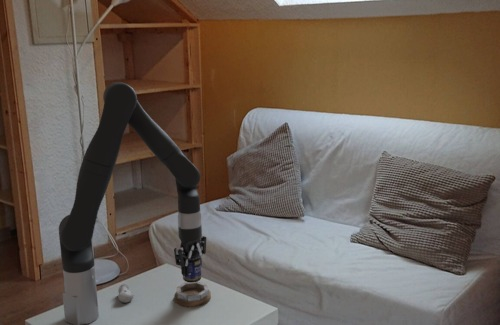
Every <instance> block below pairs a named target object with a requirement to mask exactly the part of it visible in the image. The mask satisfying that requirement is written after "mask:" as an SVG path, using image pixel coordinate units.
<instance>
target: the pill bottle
mask: <svg viewBox="0 0 500 325" xmlns="http://www.w3.org/2000/svg"><path fill="white" fill-rule="evenodd" d="M184 255H185V256H188V255H187V254H185V253H184ZM185 260H186V258H184V262H185ZM188 273H189V275H188V276H183V275H182V279H183V281H184V282H190V283H192V282H197V281H198V282H200V281H201V279H202V265H201V256H200V254H199V253H198V248H194V249H193V251H192V255H191V258H190V259H189V262H188Z"/></svg>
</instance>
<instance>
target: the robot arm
mask: <svg viewBox="0 0 500 325" xmlns="http://www.w3.org/2000/svg"><path fill="white" fill-rule="evenodd" d="M102 96H103V98H102V100H103V108H102V112H101V117H100V121H99V124H98V126H97V129H96V131H95V133H94V135H93V136H92V138H91V140H90V142H89V144H88V146H87V148H86V150H85V153H84V155H83V158H82V161H81V165H80V167H79V171H78V177H77V181H76V188H75V189H76V190H75V196H74V202H73V206H72V208H71V210H70V213H69V214H67V215H66V216H64V217H63V218H62V219H61V221H60V222H59V226H58V237H59V238H58V239H59V246H60V256H61V264H62V265H61V266H62V272H63V281H64V282H63V284H64V285H63V286H64V292H62V303H63V310H64V311H63V312H64V321H65V322H66V323H69V324H71V325H88V324H91V323H93V322H95V321H96V320H97V319H98V318H99V314H100V313H99V304H98V302H99V301H98V292H97V290H98V289H97V280H96V267H95V256H94V250H93V249H94V248H93V242H92V240H93V236H94V231H95V228H96V227H95V226H96V222H97V217H98V213H99V210H100V207H101V205H102V202H103V199H104V197H105V194H106V192H107V190H108V188H109V184H110V181H111V179H112V176H113V173H114V170H115V167H116V164H117V160H118V157H119V153H120V149H121V146H122V140H123V137H124V134H125V130H126V128H127V126H128V125H129V127H131V128H132V129H133V130H134V131H135V132H136V133H137V135H138V136H139V138H140V139H141V141H143V142H144V144H145V145H146V146H147V148H148V149H149V150H150V151H151V153H152V154H153V155H154V156H155V157H156V158H157V159H158V160H159V161H160V162H161V163H162V164H163V165H164V166H165V167H166V168H167V169H168V171H169V172H170V173H171V174H172V176H174V178H175V186H176V192H177V229H178V239H179V241H180V246H179V247H175V248H174V249H173V252H174V259H175V264H176V265H177V266H180V269H181V270H180V272H181V275H182V277H183V276H188V275H189V273H188V262H189V259H190V258H191V255H192V251H193V249H194V248H198V253H199V254H200V256H201V266H202V264H203V263H202V258H203V255H205V254H206V253H207V252H206V251H207V236H205V235H203V232H202V231H203V230H202V229H203V228H202V213H201V199H200V194H199V191H198V185H199V184H200V181H201V171H200V170H199V169H198V168H197V167H196V166H195V164H194V163H192V161H190V160H189V159H188V157H187V156H186V155H185V154H184V153H183V151H182V150H181V148H180V147H179V146H178V145H177V144H176V142H175V141H174V140H173V139H172V138H171V137H170V135H168V134H167V132H166V131H165V130H163V129H162V127H161V126H160V125H158V123H157V122H156V121H155V120H154V119H152V118H151V116H150V115H149V114H148V113H147V112H146V111H145V110H144V108H143V106H142V105H141V104H140V102H139V100H138V97H137V92H136V91H135V89H134V88H133V87H132V86H130V85H129V84H127V83H125V82H121V81H116V82H112V83H110V84H109V85H107V86H106V88H105V90H104V91H103V95H102ZM184 254H187V255H188V256H185V255H184ZM184 258H186V260H185V262H184Z"/></svg>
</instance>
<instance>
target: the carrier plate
mask: <svg viewBox="0 0 500 325" xmlns="http://www.w3.org/2000/svg"><path fill="white" fill-rule="evenodd" d="M211 295H212V294H211V291H210V289H209V287H208V284H207V283H203V282H201V281H197V282H192V283H190V282H186V281H184V282H183V283H181V284H180V285H178V286H176V292H175V293H174V302H175V303H176V304H177V305H178V306H181V307H184V308H198V307H201V306H203V305H206V304H208V303H209V302H210V301H211V298H212V296H211Z"/></svg>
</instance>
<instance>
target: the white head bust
mask: <svg viewBox="0 0 500 325" xmlns="http://www.w3.org/2000/svg"><path fill="white" fill-rule="evenodd" d="M117 292H118V296H117V297H118V300H119V301H120V302H121V303H126V304H128V303H130V302H131V301H132V300H133V299H134V296H135V295H134V293H132V291H131V290H130V289H129V286H128V284H126V283H122V284H121V285H120V286H119V288H118V291H117Z"/></svg>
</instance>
